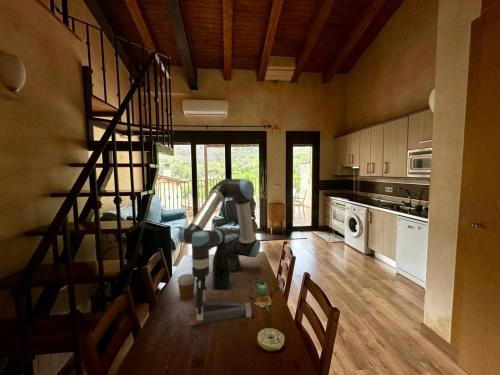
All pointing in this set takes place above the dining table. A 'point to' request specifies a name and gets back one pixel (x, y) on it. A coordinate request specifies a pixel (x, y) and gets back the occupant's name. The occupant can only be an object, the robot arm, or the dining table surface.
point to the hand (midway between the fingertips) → (201, 311)
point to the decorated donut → (268, 343)
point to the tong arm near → (218, 315)
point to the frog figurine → (262, 300)
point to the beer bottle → (221, 267)
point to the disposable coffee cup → (186, 286)
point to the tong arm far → (216, 306)
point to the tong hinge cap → (247, 310)
